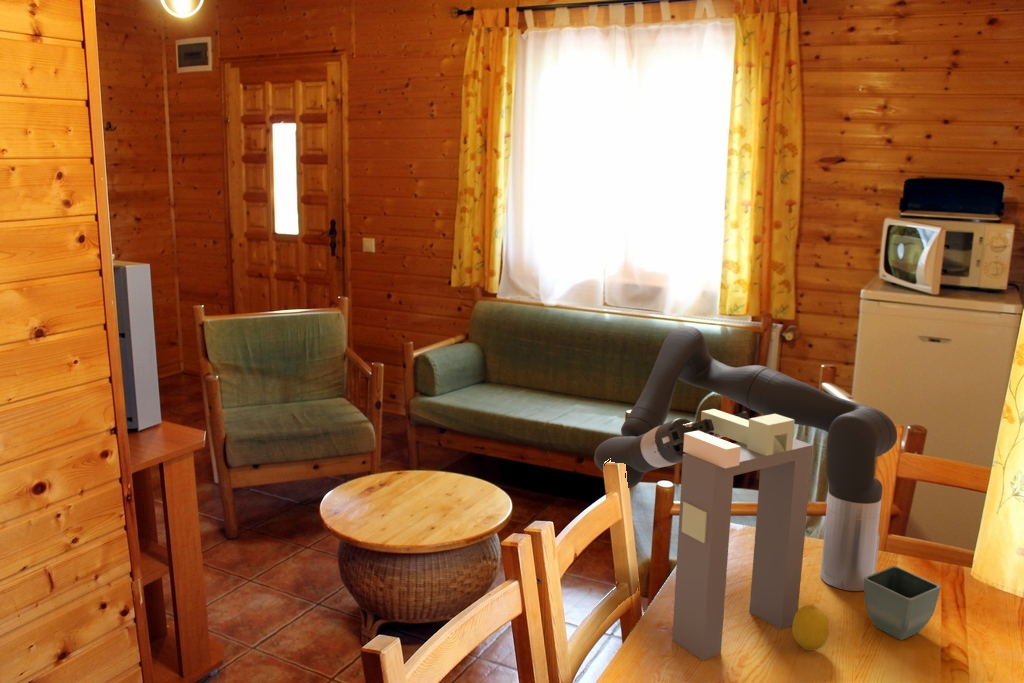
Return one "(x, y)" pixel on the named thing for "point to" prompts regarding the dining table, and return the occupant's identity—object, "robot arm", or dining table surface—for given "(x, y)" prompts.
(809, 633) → the lemon
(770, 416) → the pale yellow block
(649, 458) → the robot arm
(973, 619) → the dining table surface
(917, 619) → the flower pot
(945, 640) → the dining table surface
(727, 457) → the cream bar
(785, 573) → the grey arch
